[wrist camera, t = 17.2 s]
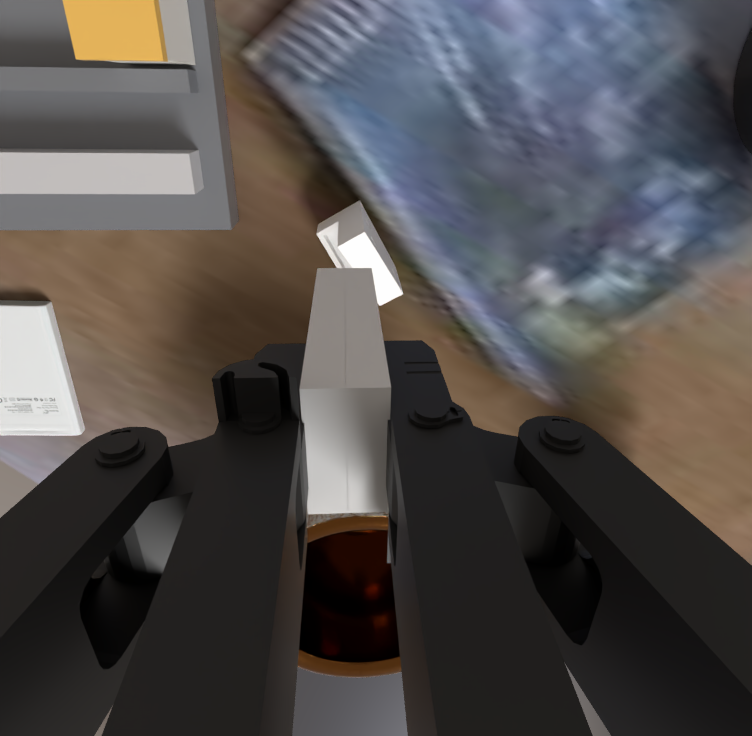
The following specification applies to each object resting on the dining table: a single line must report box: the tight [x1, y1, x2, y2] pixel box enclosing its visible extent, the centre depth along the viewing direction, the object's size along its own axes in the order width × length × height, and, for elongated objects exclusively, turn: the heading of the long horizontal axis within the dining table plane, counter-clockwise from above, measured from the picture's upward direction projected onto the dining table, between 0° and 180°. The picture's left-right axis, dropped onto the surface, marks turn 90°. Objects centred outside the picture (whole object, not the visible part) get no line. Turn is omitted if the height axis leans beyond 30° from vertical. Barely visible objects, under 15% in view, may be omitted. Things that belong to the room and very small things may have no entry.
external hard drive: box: [0, 300, 85, 436], centre depth 43 cm, size 2×8×12 cm
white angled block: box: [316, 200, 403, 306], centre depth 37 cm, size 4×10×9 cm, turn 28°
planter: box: [298, 508, 402, 678], centre depth 44 cm, size 18×18×16 cm
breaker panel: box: [0, 0, 239, 230], centre depth 30 cm, size 18×26×5 cm
